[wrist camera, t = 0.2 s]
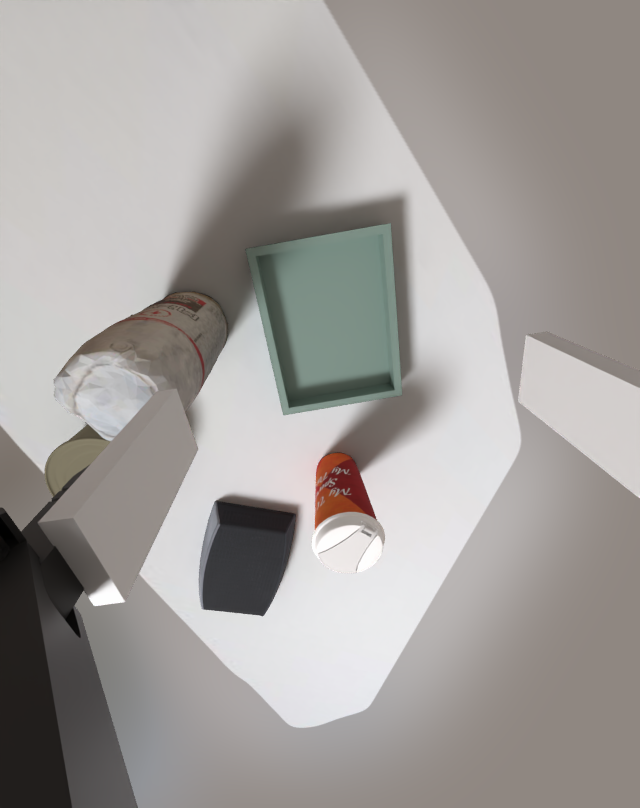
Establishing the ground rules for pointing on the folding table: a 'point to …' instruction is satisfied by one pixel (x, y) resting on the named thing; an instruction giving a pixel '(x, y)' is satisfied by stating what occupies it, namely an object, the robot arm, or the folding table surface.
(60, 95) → the folding table surface
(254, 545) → the external hard drive
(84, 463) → the can
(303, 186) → the folding table surface
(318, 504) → the paper cup
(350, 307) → the tray
